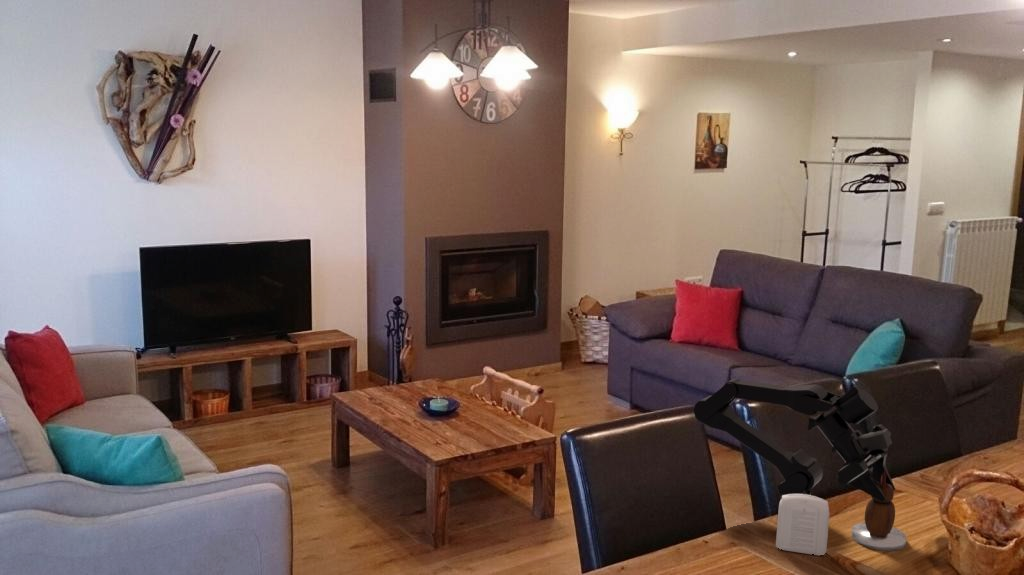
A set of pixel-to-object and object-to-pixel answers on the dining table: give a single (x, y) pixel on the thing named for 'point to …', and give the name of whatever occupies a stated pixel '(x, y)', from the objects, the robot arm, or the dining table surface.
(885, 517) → the wooden figurine
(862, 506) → the dining table surface
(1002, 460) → the dining table surface
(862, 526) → the plate
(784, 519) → the white upright block
